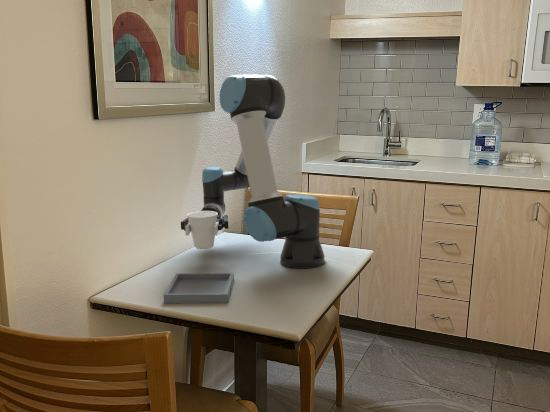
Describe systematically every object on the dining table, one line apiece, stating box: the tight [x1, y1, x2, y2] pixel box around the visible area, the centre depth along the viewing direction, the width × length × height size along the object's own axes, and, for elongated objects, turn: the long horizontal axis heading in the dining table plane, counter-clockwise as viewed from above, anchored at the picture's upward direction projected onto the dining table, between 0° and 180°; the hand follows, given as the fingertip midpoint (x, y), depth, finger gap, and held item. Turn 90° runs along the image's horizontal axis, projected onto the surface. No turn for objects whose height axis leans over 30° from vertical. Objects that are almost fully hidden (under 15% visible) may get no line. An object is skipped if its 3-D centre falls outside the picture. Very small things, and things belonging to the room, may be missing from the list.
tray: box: [163, 272, 235, 304], centre depth 162 cm, size 18×18×2 cm
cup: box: [186, 210, 218, 250], centre depth 176 cm, size 10×10×11 cm
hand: (200, 231), depth 171 cm, fingers closed on cup, 8 cm apart
